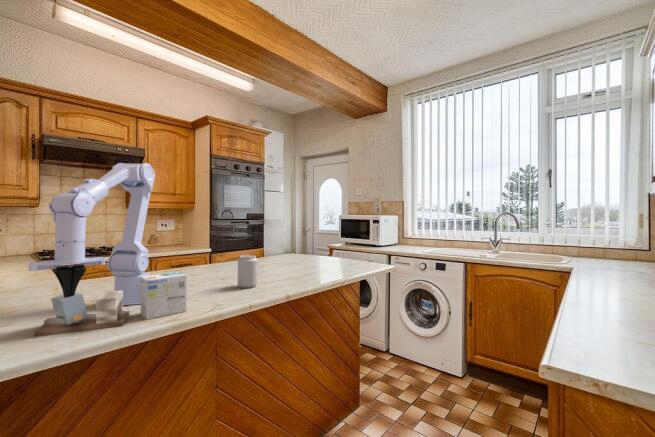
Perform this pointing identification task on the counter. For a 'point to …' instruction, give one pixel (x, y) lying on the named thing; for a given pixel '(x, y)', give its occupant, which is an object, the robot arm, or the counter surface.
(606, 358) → the counter surface
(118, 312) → the board
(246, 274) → the can
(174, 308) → the light bulb box
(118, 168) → the robot arm
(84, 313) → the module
